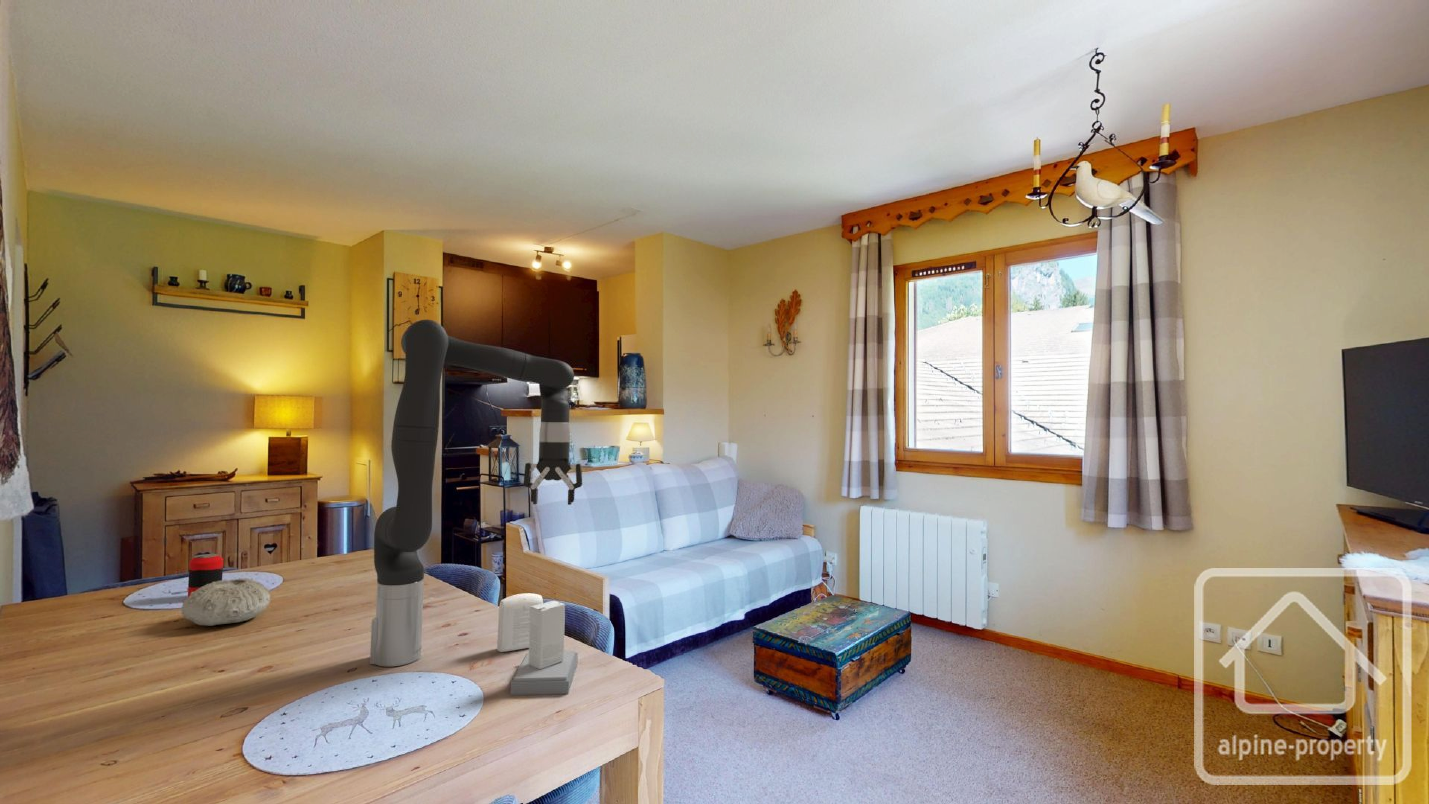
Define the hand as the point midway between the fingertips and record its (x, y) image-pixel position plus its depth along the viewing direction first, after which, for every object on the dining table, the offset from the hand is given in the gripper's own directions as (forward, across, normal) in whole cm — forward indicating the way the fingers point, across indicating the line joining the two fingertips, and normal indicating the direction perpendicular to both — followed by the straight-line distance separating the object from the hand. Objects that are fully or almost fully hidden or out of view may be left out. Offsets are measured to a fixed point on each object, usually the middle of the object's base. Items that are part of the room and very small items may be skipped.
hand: (552, 504), depth 155 cm
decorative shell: (+32, -83, +12) cm, 90 cm away
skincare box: (+29, +4, -28) cm, 41 cm away
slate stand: (+32, +4, -28) cm, 43 cm away
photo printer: (+32, -5, -10) cm, 34 cm away
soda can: (+32, -103, +34) cm, 113 cm away
